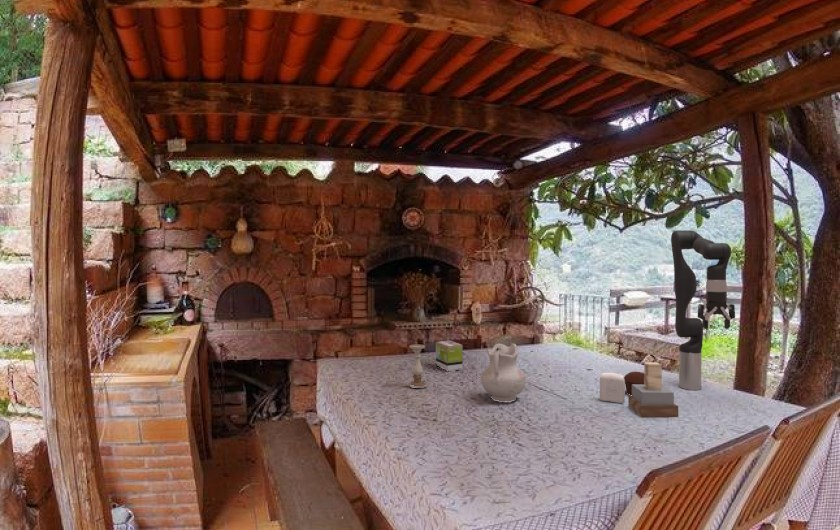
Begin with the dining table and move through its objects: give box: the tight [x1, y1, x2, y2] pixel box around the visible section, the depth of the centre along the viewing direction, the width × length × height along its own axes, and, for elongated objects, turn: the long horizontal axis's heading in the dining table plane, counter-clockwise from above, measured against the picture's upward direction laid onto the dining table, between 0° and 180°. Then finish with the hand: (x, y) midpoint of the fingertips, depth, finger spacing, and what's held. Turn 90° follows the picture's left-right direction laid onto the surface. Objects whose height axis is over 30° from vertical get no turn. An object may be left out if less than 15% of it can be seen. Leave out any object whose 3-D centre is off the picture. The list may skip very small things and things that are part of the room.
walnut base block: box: [627, 395, 679, 418], centre depth 202 cm, size 14×14×5 cm
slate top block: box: [632, 384, 675, 405], centre depth 202 cm, size 12×12×5 cm
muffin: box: [624, 371, 644, 396], centre depth 227 cm, size 12×11×10 cm
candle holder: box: [409, 343, 426, 386], centre depth 243 cm, size 9×9×20 cm
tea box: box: [435, 340, 464, 370], centre depth 281 cm, size 15×10×15 cm
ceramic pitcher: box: [480, 342, 526, 401], centre depth 220 cm, size 22×20×25 cm
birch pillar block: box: [643, 361, 663, 390], centre depth 201 cm, size 5×5×10 cm
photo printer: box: [599, 372, 626, 404], centre depth 216 cm, size 10×4×12 cm, turn 61°
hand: (716, 328), depth 210 cm, fingers open, 8 cm apart
